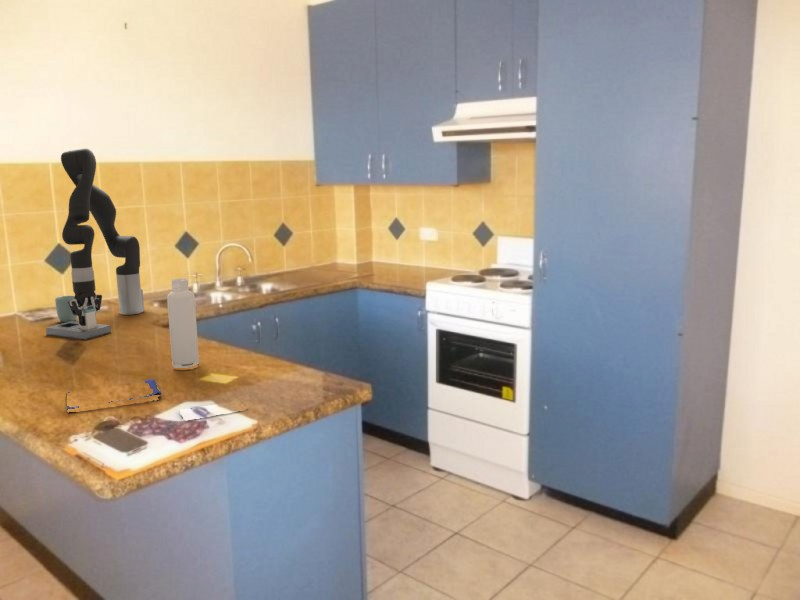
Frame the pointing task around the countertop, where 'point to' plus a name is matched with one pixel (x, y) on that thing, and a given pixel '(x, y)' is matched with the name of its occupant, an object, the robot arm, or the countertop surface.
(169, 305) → the bottle
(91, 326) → the plug
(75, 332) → the panel
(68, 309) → the cup
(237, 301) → the countertop surface
